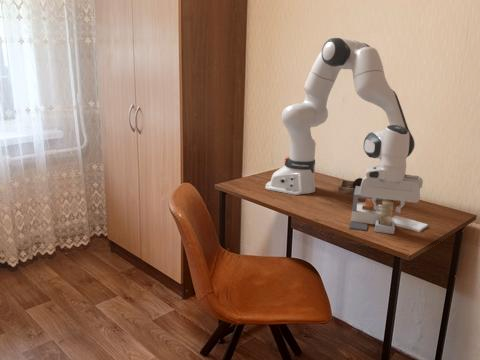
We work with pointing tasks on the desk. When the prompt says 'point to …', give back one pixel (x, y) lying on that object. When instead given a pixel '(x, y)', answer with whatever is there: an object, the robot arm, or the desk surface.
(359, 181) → the dark brown rounded lump
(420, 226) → the external hard drive
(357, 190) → the grey open box frame
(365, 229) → the pad
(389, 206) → the tan rectangular block
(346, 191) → the watch tray
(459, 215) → the desk surface
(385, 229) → the grey square tray
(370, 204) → the button
